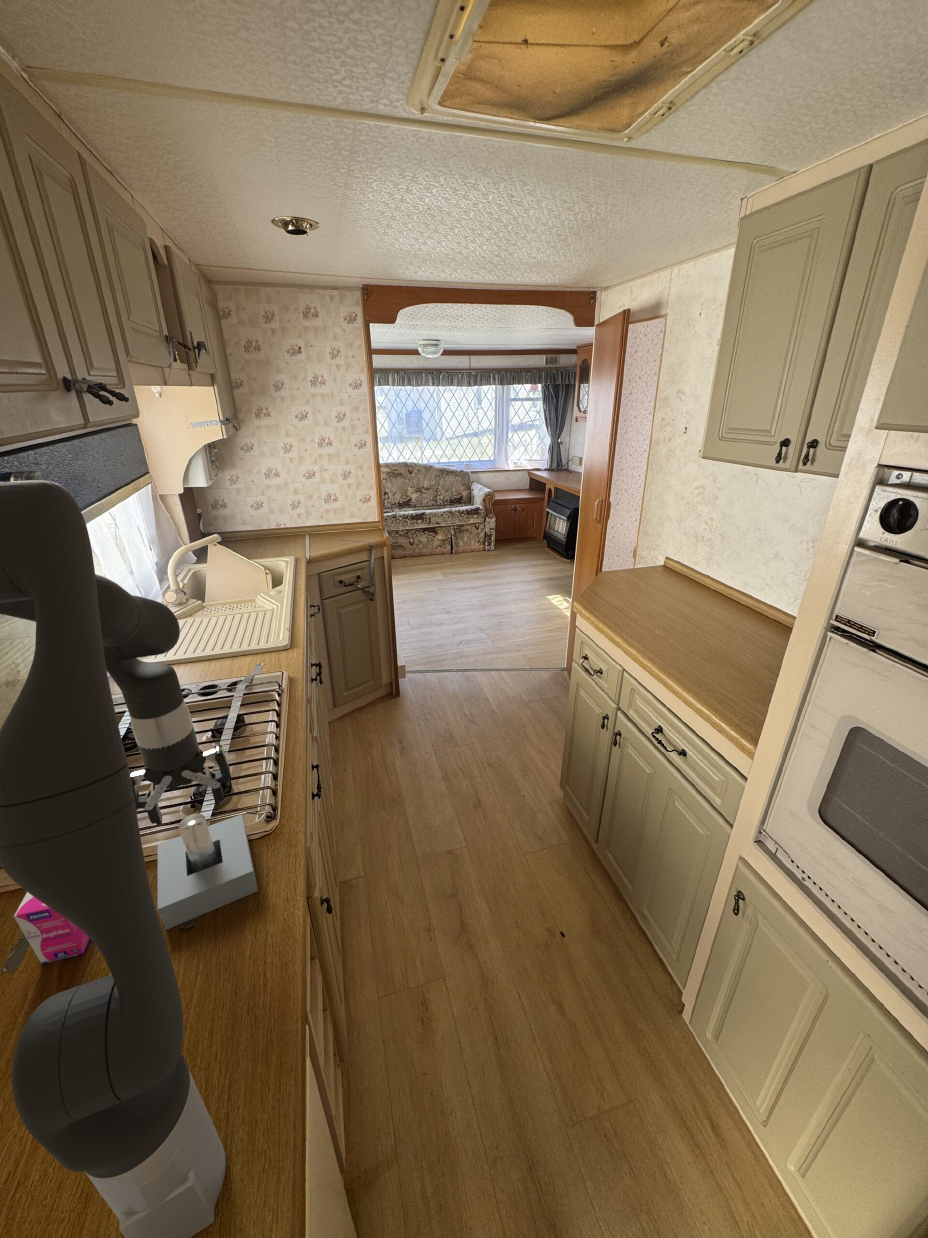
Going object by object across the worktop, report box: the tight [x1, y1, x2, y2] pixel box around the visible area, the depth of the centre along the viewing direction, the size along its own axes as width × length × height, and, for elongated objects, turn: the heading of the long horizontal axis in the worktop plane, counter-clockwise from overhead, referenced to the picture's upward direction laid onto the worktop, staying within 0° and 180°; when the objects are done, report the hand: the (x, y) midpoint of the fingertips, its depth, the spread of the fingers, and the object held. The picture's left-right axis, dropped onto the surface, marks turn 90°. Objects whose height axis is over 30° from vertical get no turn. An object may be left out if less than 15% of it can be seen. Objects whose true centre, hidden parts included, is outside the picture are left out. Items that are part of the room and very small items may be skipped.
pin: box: [178, 812, 220, 873], centre depth 86 cm, size 4×4×12 cm
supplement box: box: [13, 891, 91, 965], centre depth 76 cm, size 6×6×12 cm
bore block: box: [157, 814, 259, 931], centre depth 88 cm, size 14×14×5 cm
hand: (189, 811), depth 82 cm, fingers open, 8 cm apart
